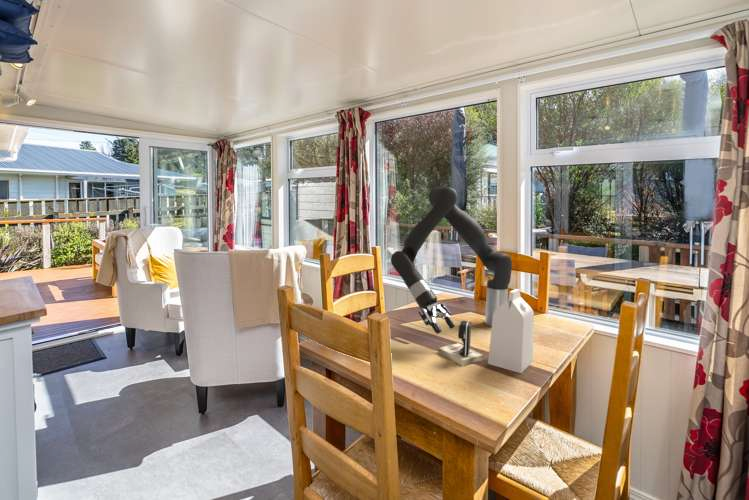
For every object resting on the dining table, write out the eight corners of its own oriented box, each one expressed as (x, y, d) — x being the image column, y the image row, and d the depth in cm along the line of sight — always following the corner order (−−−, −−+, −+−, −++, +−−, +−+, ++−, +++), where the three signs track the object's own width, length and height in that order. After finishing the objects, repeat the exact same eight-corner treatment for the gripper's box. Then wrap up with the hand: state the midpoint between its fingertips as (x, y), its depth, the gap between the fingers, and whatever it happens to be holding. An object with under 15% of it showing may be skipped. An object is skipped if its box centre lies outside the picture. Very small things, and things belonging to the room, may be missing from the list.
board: (458, 348, 150) (458, 342, 150) (483, 360, 139) (483, 354, 138) (438, 352, 145) (438, 347, 145) (462, 365, 134) (462, 360, 134)
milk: (501, 353, 145) (504, 285, 142) (532, 361, 138) (537, 290, 135) (487, 363, 136) (491, 291, 132) (521, 373, 129) (525, 296, 125)
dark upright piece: (459, 348, 144) (460, 318, 142) (470, 350, 143) (471, 319, 141) (456, 355, 137) (458, 324, 136) (467, 357, 136) (469, 325, 135)
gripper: (416, 291, 144) (441, 329, 137) (439, 286, 154) (463, 320, 147) (405, 303, 148) (428, 339, 142) (428, 296, 158) (451, 331, 152)
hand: (446, 330), depth 145 cm, fingers open, 8 cm apart
